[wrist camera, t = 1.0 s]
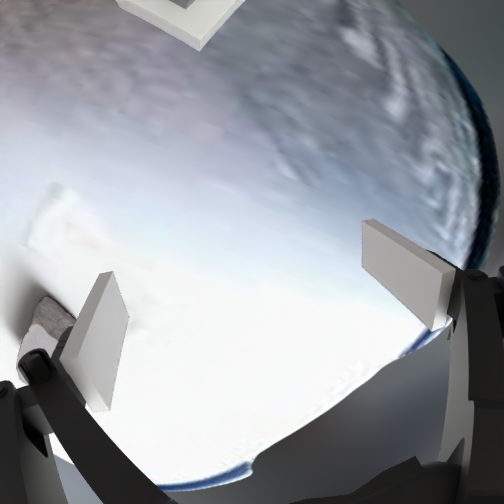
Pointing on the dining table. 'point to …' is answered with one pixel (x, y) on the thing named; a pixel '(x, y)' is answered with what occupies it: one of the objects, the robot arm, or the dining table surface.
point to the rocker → (183, 3)
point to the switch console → (184, 17)
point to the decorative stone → (45, 329)
